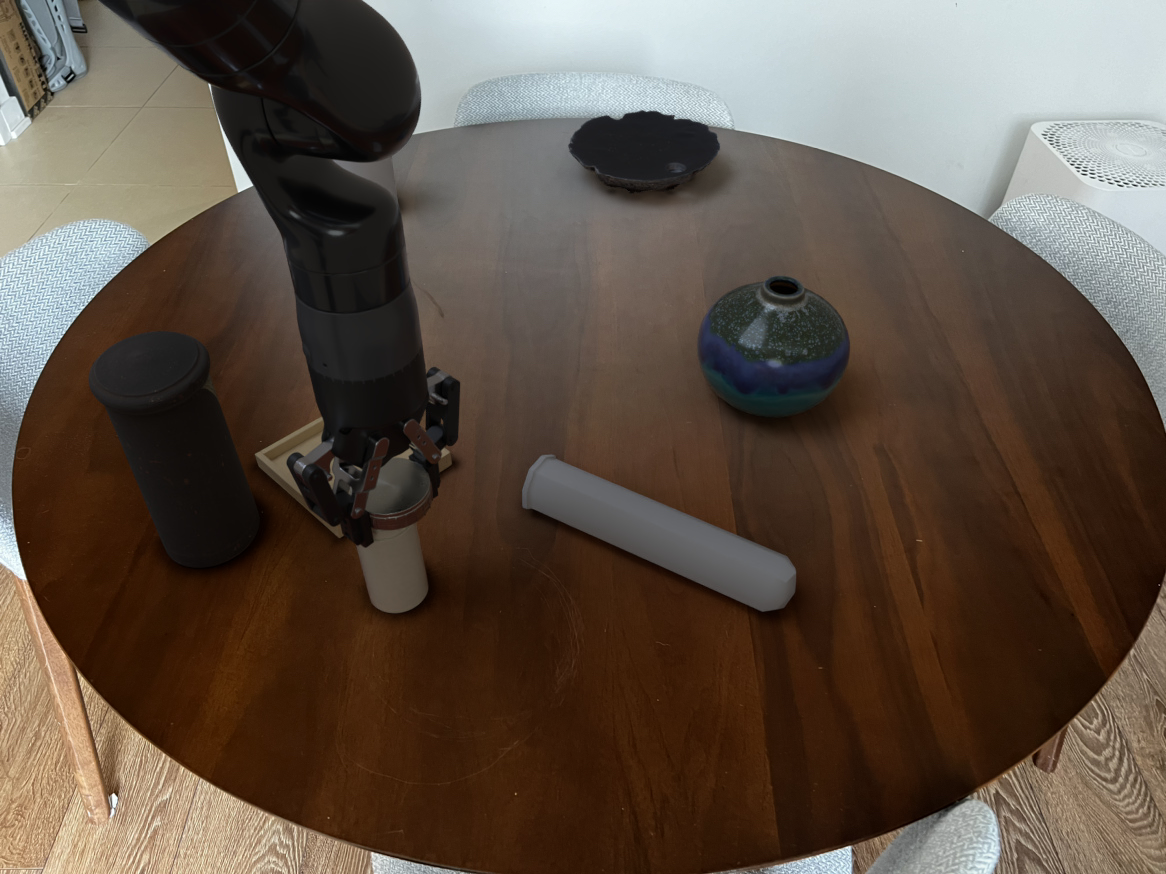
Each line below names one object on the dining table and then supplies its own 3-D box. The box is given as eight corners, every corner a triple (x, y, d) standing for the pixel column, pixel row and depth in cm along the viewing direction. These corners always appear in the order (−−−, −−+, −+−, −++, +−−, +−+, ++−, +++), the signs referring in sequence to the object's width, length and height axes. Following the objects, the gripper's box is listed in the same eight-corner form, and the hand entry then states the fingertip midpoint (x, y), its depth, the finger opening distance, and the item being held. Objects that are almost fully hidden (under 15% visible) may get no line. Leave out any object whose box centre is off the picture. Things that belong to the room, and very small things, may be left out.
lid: (441, 477, 71) (439, 460, 70) (422, 535, 67) (419, 518, 65) (365, 470, 72) (362, 453, 70) (342, 527, 67) (337, 510, 66)
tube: (812, 551, 76) (555, 445, 84) (795, 580, 71) (526, 465, 80) (794, 603, 78) (546, 494, 87) (776, 634, 74) (517, 516, 82)
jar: (400, 623, 75) (380, 538, 68) (356, 595, 77) (333, 510, 70) (440, 583, 78) (425, 498, 71) (397, 557, 80) (378, 472, 73)
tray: (339, 538, 81) (336, 526, 80) (258, 466, 88) (254, 454, 87) (452, 464, 88) (450, 451, 87) (369, 403, 95) (367, 390, 94)
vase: (866, 394, 97) (896, 289, 88) (776, 462, 89) (799, 354, 80) (753, 331, 105) (770, 228, 96) (661, 388, 97) (671, 282, 88)
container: (278, 500, 85) (223, 324, 71) (242, 576, 78) (174, 398, 64) (188, 493, 85) (117, 317, 72) (145, 568, 79) (57, 389, 65)
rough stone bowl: (725, 210, 126) (730, 176, 122) (568, 210, 125) (568, 175, 122) (707, 141, 142) (711, 109, 139) (567, 140, 142) (567, 108, 138)
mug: (409, 211, 125) (399, 138, 117) (356, 228, 121) (343, 154, 114) (368, 177, 132) (357, 106, 125) (317, 193, 128) (303, 120, 121)
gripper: (307, 421, 53) (352, 598, 65) (482, 315, 61) (495, 489, 73) (233, 368, 57) (288, 545, 68) (408, 274, 65) (431, 446, 76)
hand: (395, 515), depth 70 cm, fingers closed on lid, 6 cm apart
